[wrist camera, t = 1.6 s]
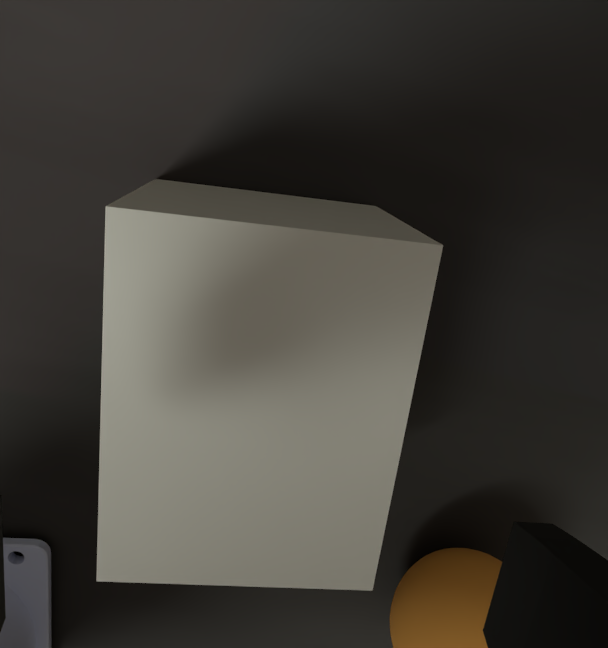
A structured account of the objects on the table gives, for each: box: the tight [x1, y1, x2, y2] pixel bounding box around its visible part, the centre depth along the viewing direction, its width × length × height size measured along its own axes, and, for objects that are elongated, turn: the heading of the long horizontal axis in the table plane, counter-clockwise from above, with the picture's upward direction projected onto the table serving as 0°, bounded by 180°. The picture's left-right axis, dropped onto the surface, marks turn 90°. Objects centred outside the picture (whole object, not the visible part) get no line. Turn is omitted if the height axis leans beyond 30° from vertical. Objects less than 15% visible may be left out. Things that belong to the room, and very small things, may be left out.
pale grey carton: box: [96, 179, 443, 591], centre depth 15 cm, size 6×8×6 cm
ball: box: [390, 548, 502, 648], centre depth 19 cm, size 5×5×5 cm
